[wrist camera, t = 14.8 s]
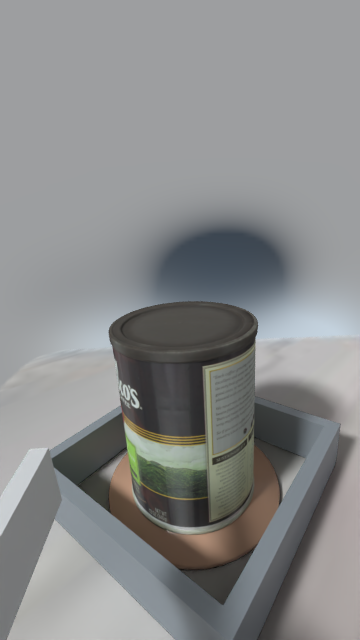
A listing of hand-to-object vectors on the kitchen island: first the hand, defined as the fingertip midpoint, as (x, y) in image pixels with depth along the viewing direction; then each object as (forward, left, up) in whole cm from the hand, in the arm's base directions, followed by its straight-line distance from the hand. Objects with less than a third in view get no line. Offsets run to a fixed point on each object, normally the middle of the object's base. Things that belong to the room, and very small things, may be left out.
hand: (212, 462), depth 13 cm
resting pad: (-8, -8, -12) cm, 16 cm away
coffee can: (-8, -8, -12) cm, 16 cm away
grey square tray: (-8, -8, -12) cm, 16 cm away
